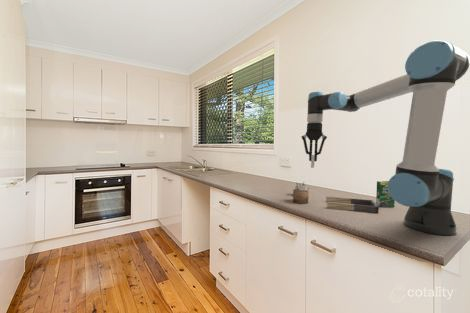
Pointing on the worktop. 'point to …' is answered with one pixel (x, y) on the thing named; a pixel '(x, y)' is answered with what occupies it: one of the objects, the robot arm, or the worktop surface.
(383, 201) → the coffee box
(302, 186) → the grey succulent plant
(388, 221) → the worktop surface
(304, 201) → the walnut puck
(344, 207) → the channel
